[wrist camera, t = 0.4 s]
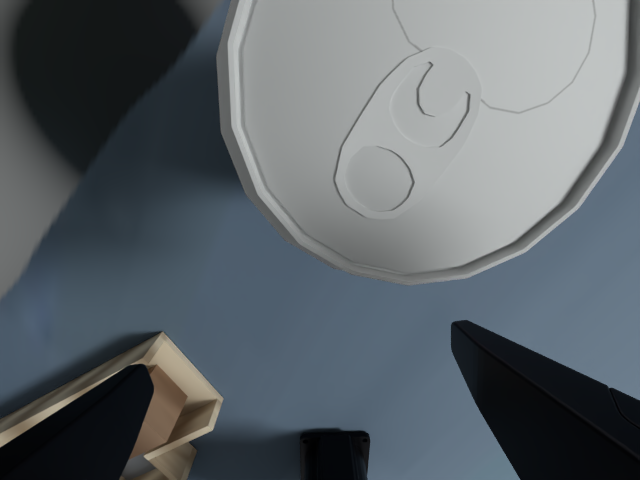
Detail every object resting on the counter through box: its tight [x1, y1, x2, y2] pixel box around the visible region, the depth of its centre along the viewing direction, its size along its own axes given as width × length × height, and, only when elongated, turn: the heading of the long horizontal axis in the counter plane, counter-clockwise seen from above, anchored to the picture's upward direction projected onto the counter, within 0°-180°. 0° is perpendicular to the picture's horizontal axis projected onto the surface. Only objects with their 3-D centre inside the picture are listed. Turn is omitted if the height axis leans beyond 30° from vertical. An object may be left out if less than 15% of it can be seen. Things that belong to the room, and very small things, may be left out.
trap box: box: [0, 332, 223, 480], centre depth 26 cm, size 24×12×3 cm, turn 120°
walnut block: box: [129, 365, 188, 460], centre depth 24 cm, size 6×4×4 cm, turn 119°
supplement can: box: [216, 0, 640, 285], centre depth 12 cm, size 8×8×15 cm
